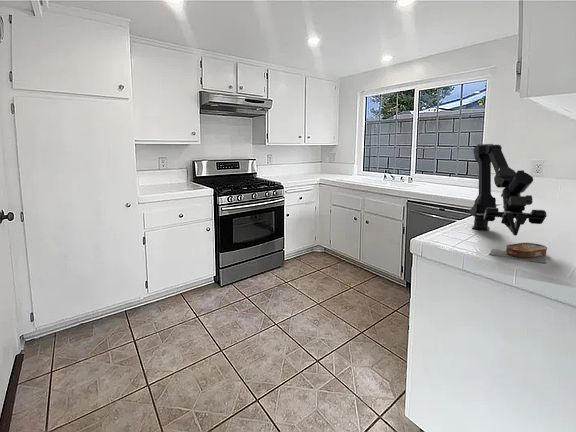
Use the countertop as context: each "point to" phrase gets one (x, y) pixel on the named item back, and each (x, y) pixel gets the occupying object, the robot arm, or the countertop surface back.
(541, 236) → the countertop surface
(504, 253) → the mat
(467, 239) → the countertop surface
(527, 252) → the tin
